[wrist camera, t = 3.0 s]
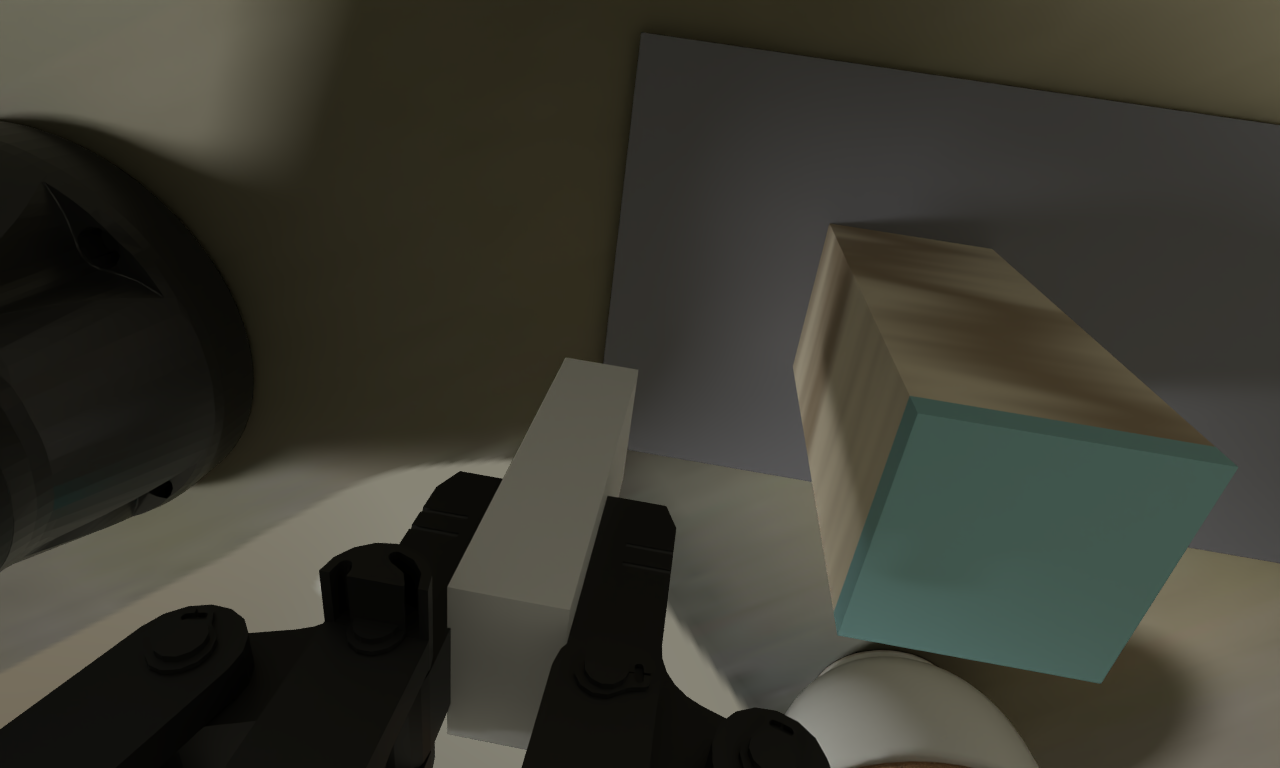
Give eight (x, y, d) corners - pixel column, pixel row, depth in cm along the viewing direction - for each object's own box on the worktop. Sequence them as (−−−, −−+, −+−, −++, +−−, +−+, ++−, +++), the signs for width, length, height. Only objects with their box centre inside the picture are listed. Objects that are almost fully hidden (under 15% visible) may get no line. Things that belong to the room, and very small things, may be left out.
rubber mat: (596, 438, 27) (594, 443, 27) (642, 32, 20) (641, 32, 20) (1352, 569, 26) (1361, 577, 25) (1661, 180, 19) (1678, 183, 19)
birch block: (792, 366, 24) (837, 635, 14) (829, 223, 22) (917, 413, 11) (939, 391, 24) (1100, 683, 13) (991, 248, 22) (1238, 467, 11)
